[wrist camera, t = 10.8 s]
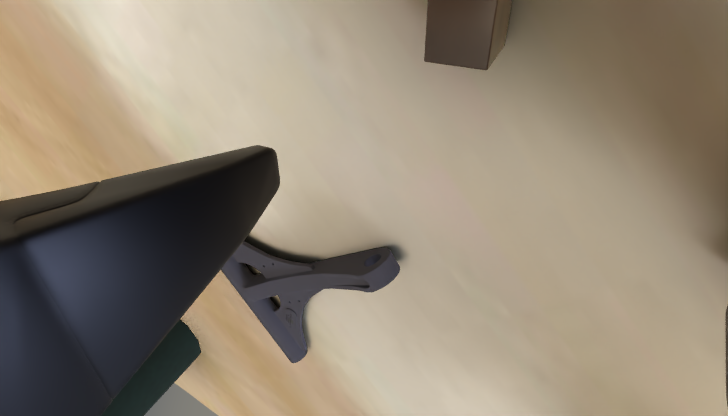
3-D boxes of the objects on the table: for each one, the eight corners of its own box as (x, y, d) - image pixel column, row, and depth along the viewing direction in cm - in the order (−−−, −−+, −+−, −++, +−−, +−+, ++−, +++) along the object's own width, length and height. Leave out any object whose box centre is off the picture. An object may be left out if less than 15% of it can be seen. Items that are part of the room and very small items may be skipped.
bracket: (452, 339, 29) (439, 373, 27) (297, 348, 38) (279, 374, 36) (341, 147, 25) (316, 170, 22) (196, 209, 33) (168, 229, 31)
